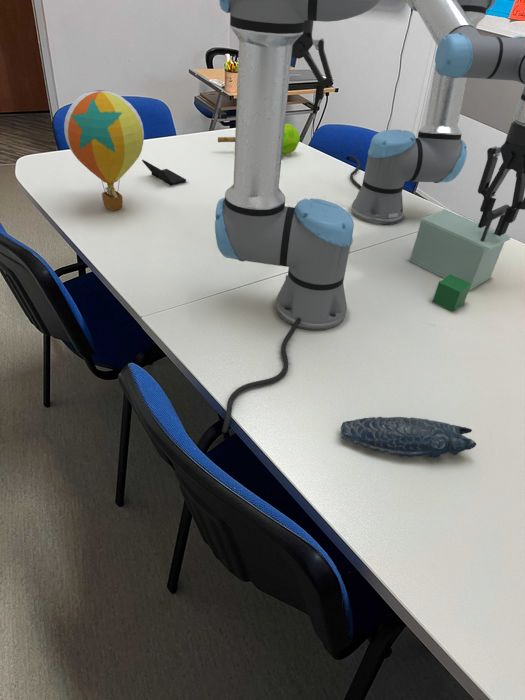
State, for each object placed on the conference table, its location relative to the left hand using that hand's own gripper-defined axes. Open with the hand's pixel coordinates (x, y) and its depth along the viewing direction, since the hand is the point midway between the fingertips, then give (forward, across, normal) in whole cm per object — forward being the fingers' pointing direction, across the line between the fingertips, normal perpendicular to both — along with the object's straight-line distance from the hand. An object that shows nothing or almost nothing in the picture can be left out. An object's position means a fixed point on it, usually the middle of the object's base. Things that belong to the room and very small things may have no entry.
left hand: (288, 109), depth 135 cm
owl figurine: (+28, -31, +84) cm, 94 cm away
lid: (+17, -47, +22) cm, 55 cm away
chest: (+28, -47, +22) cm, 59 cm away
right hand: (+14, -52, +26) cm, 60 cm away
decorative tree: (+28, +14, -48) cm, 57 cm away
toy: (+28, +45, +13) cm, 55 cm away
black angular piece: (+28, +38, -12) cm, 49 cm away
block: (+28, -44, +38) cm, 65 cm away
